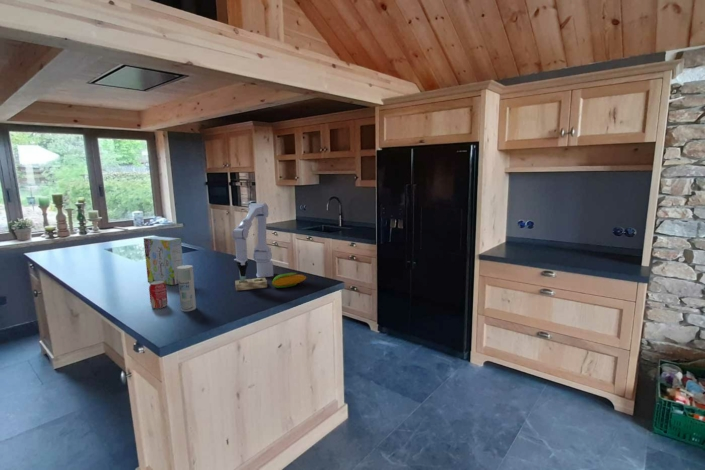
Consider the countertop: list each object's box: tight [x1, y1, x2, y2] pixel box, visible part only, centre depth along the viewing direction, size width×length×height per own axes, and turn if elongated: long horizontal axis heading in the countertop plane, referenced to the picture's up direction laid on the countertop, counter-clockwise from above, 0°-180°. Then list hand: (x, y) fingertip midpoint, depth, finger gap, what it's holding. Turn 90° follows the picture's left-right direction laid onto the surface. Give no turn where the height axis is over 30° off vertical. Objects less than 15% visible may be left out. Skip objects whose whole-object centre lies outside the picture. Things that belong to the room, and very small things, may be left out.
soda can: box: [148, 280, 168, 310], centre depth 174 cm, size 7×7×12 cm
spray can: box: [177, 264, 197, 312], centre depth 170 cm, size 6×6×20 cm
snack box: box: [143, 236, 184, 286], centre depth 213 cm, size 22×9×26 cm, turn 65°
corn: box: [271, 272, 307, 289], centre depth 204 cm, size 7×8×20 cm
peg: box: [238, 269, 247, 281], centre depth 200 cm, size 3×3×9 cm
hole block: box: [234, 277, 268, 291], centre depth 203 cm, size 16×8×4 cm, turn 110°
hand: (242, 275), depth 200 cm, fingers closed on peg, 3 cm apart
